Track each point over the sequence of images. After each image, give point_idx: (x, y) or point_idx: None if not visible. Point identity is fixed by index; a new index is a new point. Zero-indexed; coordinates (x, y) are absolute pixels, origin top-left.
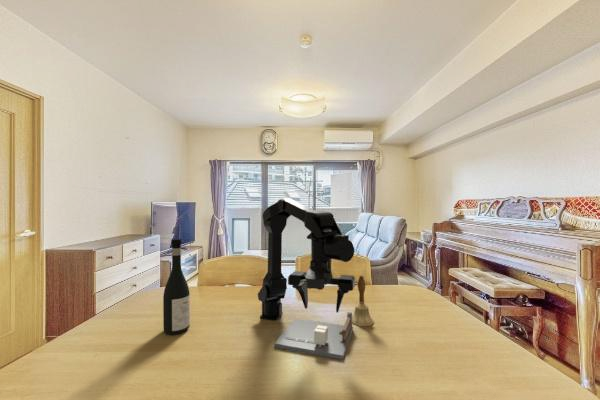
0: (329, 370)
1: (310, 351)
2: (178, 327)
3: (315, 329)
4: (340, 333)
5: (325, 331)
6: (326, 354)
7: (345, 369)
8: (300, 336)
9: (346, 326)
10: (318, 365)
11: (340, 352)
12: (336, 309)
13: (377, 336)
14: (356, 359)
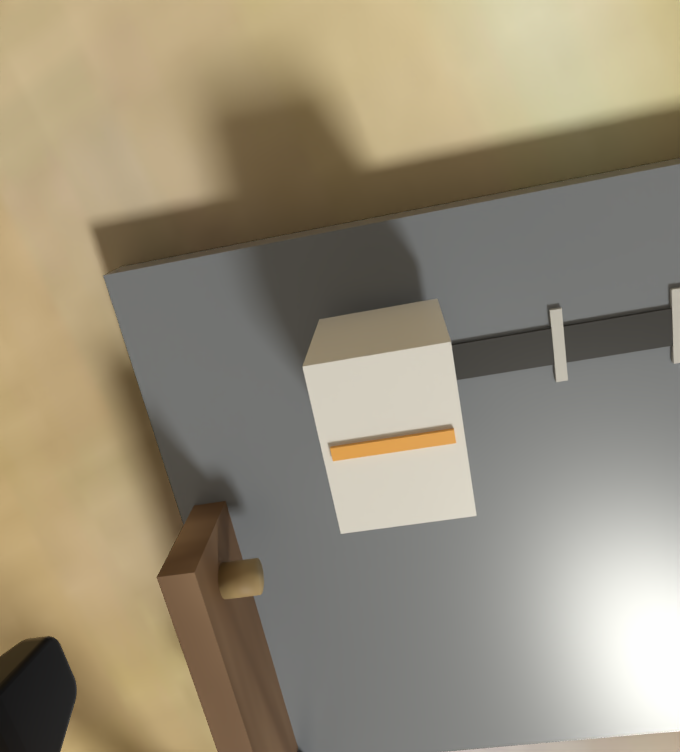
0: (141, 29)
1: (441, 207)
2: None
3: (451, 388)
4: (244, 564)
5: (315, 416)
6: (269, 239)
7: (28, 131)
8: (663, 408)
9: (193, 660)
10: (274, 52)
11: (147, 312)
12: (5, 675)
13: None
14: (29, 334)
